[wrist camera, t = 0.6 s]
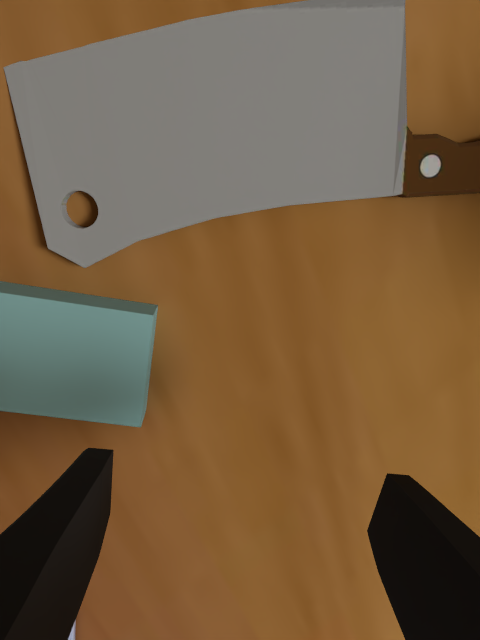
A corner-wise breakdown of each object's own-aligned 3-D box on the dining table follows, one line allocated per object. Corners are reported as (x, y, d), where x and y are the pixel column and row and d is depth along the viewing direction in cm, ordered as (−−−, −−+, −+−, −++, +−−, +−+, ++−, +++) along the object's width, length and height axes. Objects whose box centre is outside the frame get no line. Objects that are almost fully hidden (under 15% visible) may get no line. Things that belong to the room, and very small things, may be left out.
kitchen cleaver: (700, -68, 13) (628, 234, 16) (667, -50, 14) (605, 232, 17) (-31, -34, 13) (35, 271, 16) (-13, -17, 14) (46, 266, 17)
